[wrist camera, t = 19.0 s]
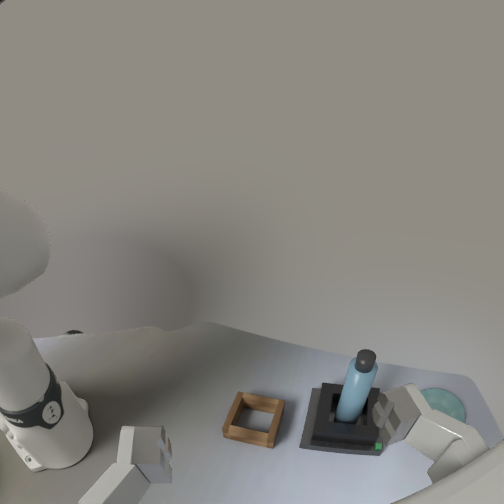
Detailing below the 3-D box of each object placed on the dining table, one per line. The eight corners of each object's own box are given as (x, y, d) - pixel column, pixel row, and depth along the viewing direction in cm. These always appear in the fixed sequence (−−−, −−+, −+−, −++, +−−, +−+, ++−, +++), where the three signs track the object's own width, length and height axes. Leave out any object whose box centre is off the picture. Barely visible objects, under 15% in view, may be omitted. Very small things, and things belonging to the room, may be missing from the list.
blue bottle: (332, 427, 42) (351, 365, 36) (335, 408, 46) (352, 344, 39) (356, 429, 41) (381, 367, 35) (358, 410, 45) (380, 347, 38)
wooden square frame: (223, 437, 43) (222, 428, 41) (239, 401, 50) (238, 391, 48) (272, 448, 41) (273, 439, 39) (283, 410, 48) (285, 400, 46)
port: (299, 447, 40) (302, 434, 39) (311, 393, 51) (314, 377, 49) (379, 455, 37) (388, 442, 35) (380, 400, 48) (387, 384, 46)
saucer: (470, 419, 39) (476, 412, 38) (434, 457, 34) (440, 451, 33) (430, 386, 49) (434, 378, 48) (391, 417, 44) (395, 409, 43)
